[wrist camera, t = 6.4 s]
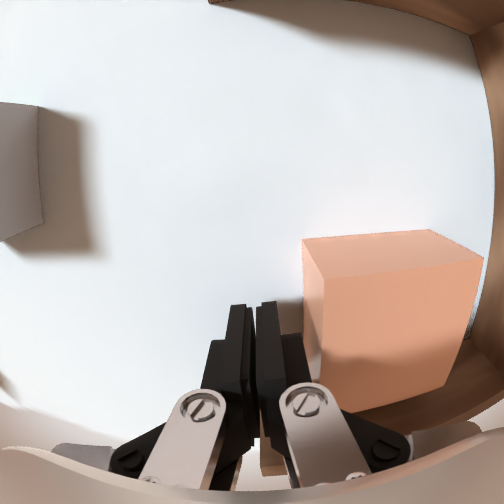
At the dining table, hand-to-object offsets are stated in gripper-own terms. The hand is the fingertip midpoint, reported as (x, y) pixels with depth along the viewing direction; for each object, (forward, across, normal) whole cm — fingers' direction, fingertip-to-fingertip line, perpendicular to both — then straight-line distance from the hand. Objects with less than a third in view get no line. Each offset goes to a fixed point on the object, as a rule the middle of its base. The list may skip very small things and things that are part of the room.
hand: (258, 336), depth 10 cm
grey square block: (+2, +13, -9) cm, 15 cm away
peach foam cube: (+2, -5, 0) cm, 5 cm away
